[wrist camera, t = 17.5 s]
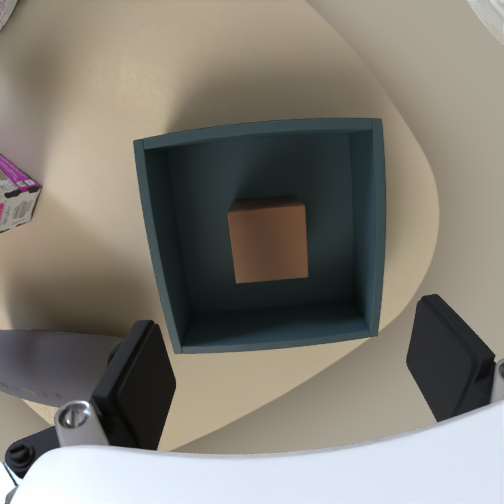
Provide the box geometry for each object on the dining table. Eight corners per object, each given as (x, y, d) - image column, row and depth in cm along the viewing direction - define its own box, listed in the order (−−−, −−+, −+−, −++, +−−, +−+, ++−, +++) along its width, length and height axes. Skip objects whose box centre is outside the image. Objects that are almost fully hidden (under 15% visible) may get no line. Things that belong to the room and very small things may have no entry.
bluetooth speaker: (26, 365, 35) (-5, 404, 26) (3, 313, 32) (-38, 348, 23) (150, 377, 34) (127, 436, 25) (129, 313, 31) (91, 369, 22)
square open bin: (353, 125, 25) (382, 118, 19) (356, 300, 31) (377, 336, 24) (160, 142, 26) (132, 140, 19) (188, 315, 31) (174, 354, 25)
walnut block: (295, 194, 26) (305, 205, 21) (299, 253, 28) (308, 277, 23) (232, 200, 27) (227, 212, 21) (239, 259, 28) (236, 283, 23)
